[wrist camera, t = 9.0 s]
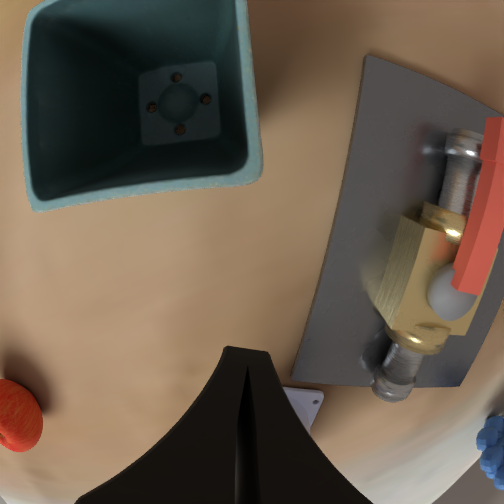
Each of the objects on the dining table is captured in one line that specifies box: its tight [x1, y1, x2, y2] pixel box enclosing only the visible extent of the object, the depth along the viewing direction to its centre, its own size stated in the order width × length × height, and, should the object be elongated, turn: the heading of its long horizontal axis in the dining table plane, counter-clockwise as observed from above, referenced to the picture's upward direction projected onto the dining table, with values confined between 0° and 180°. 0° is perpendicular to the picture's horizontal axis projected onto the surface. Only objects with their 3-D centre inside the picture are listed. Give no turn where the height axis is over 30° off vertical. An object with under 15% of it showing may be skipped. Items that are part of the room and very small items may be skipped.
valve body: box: [290, 55, 504, 402], centre depth 17 cm, size 22×16×4 cm
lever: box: [427, 117, 504, 321], centre depth 13 cm, size 11×3×2 cm, turn 168°
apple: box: [0, 379, 43, 452], centre depth 21 cm, size 8×8×8 cm
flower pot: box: [20, 0, 263, 213], centre depth 12 cm, size 9×9×9 cm
